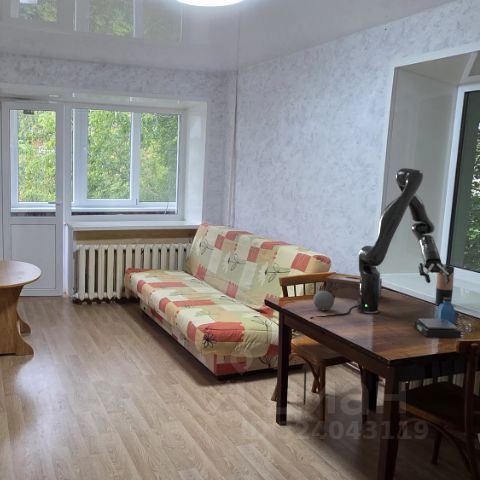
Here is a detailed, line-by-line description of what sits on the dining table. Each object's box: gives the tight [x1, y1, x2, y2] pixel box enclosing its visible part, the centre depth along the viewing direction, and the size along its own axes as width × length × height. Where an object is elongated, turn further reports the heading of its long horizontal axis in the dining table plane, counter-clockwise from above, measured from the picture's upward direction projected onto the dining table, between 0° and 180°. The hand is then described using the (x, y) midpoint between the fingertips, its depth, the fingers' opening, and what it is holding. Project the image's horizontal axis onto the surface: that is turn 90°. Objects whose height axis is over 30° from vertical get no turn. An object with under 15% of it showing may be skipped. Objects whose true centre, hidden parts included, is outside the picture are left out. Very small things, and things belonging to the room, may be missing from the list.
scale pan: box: [417, 318, 459, 329], centre depth 231 cm, size 12×12×1 cm
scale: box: [414, 319, 462, 339], centre depth 232 cm, size 14×14×3 cm
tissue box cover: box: [325, 272, 383, 301], centre depth 292 cm, size 26×14×10 cm, turn 52°
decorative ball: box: [312, 290, 335, 311], centre depth 266 cm, size 10×10×10 cm
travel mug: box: [435, 265, 455, 306], centre depth 272 cm, size 8×8×20 cm
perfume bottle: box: [435, 297, 457, 326], centre depth 243 cm, size 6×6×12 cm
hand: (438, 282), depth 251 cm, fingers open, 8 cm apart
